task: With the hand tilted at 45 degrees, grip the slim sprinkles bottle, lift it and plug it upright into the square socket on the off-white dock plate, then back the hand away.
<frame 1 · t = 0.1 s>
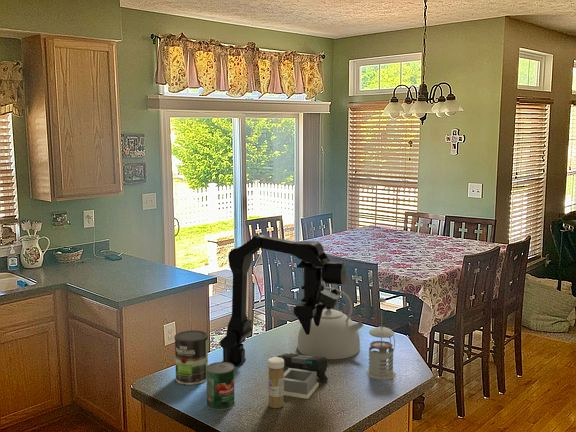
hand: (312, 330, 184), 15 cm above the kitchen island, tool pointing down, fingers open, 9 cm apart
sprinkles bottle: (276, 405, 164), on the kitchen island
canned tomato: (220, 404, 165), on the kitchen island
gun: (302, 373, 188), on the kitchen island
french press: (382, 373, 187), on the kitchen island
kettle: (331, 349, 210), on the kitchen island
coffee can: (192, 379, 183), on the kitchen island
dock: (297, 389, 174), on the kitchen island
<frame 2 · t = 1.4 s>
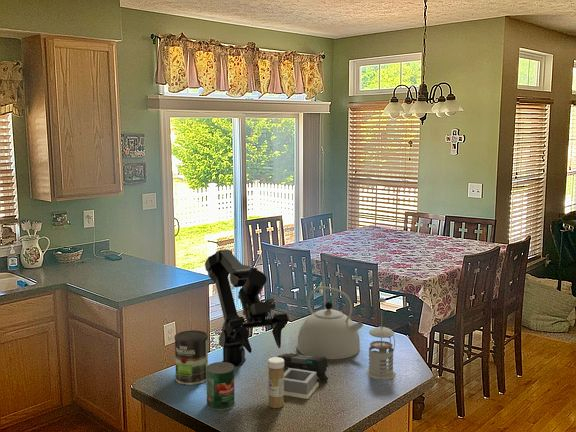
hand: (265, 349, 170), 14 cm above the kitchen island, tool tilted 45°, fingers open, 9 cm apart
nothing on the kitchen island moved.
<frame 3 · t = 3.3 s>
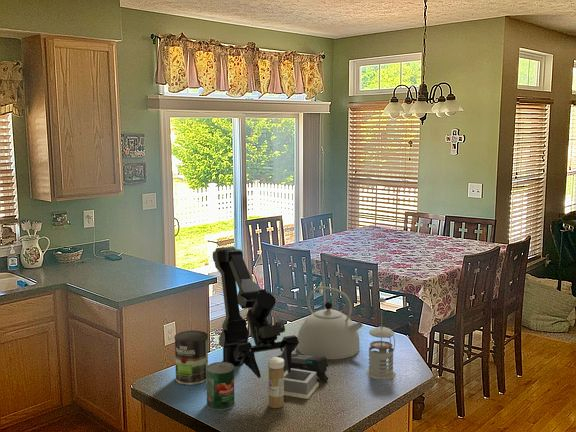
hand: (274, 374, 164), 9 cm above the kitchen island, tool tilted 45°, fingers open, 9 cm apart
nothing on the kitchen island moved.
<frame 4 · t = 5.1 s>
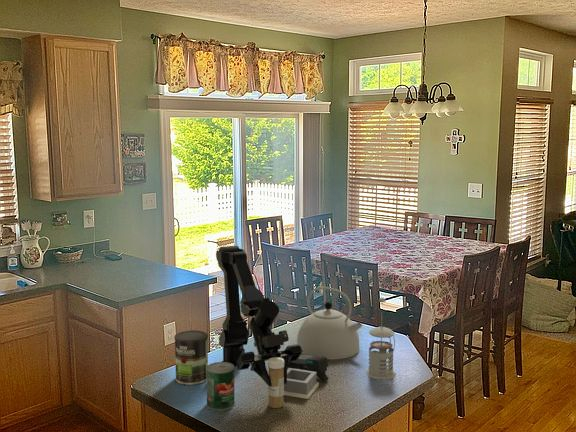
hand: (278, 384, 162), 7 cm above the kitchen island, tool tilted 45°, fingers closed on sprinkles bottle, 4 cm apart
sprinkles bottle: (276, 405, 164), on the kitchen island, touching gripper
everything else where it was.
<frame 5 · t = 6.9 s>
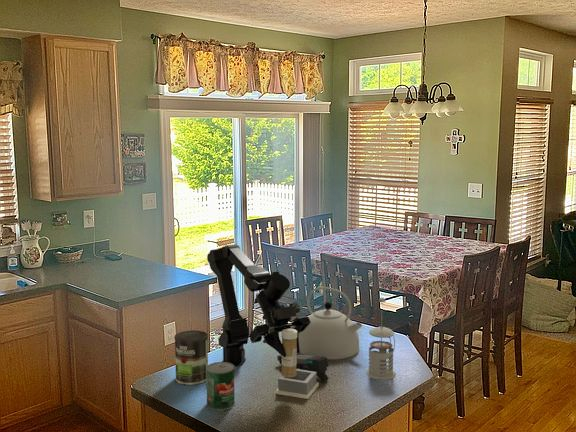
hand: (292, 354, 167), 13 cm above the kitchen island, tool tilted 45°, fingers closed on sprinkles bottle, 4 cm apart
sprinkles bottle: (289, 375, 169), point 6 cm above the kitchen island, touching gripper
everything else where it was.
when the fingers open (9 cm above the kitchen island, at t = 9.1 s): sprinkles bottle drops 1 cm, resting on dock.
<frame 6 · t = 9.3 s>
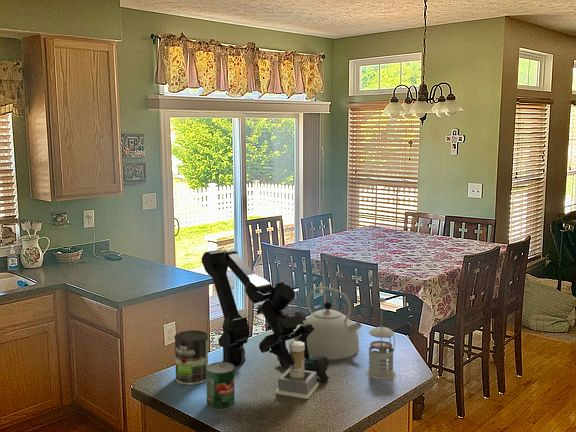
hand: (300, 361, 172), 9 cm above the kitchen island, tool tilted 45°, fingers open, 6 cm apart
sprinkles bottle: (297, 386, 174), point 1 cm above the kitchen island, touching dock
everything else where it was.
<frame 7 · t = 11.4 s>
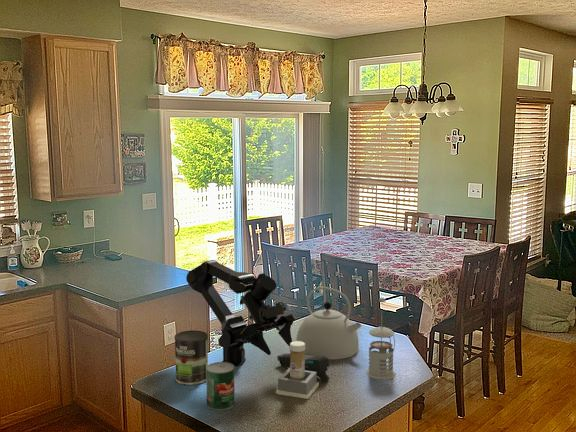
hand: (281, 350, 178), 10 cm above the kitchen island, tool tilted 45°, fingers open, 9 cm apart
nothing on the kitchen island moved.
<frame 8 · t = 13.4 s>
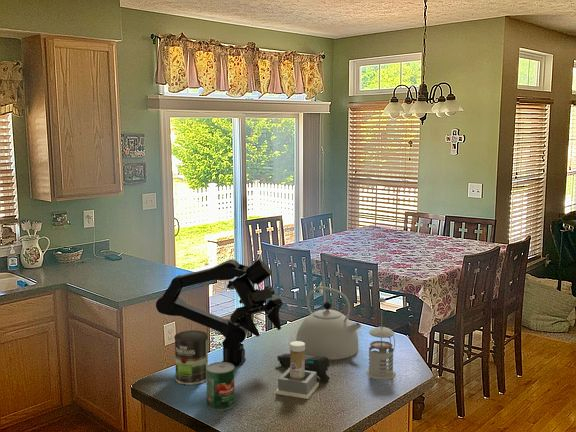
hand: (269, 332, 185), 14 cm above the kitchen island, tool tilted 45°, fingers open, 9 cm apart
nothing on the kitchen island moved.
at the end: sprinkles bottle 0.1 cm off-centre on the dock, point 0.8 cm above the dock's base; sprinkles bottle tilted 0°; the gripper is holding nothing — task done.
